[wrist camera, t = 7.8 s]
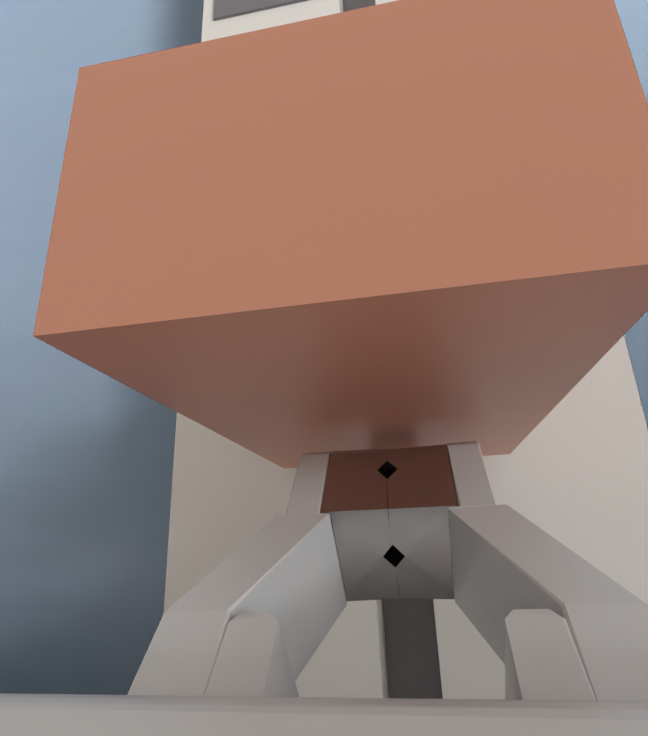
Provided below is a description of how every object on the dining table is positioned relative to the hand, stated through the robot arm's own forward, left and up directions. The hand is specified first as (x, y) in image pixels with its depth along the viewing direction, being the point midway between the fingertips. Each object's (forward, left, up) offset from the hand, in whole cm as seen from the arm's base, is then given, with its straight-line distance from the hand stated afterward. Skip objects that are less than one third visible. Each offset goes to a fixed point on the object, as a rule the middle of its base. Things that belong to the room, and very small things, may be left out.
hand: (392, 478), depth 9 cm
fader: (0, -2, -4) cm, 5 cm away
